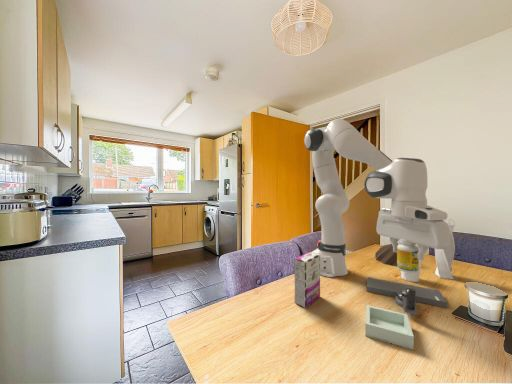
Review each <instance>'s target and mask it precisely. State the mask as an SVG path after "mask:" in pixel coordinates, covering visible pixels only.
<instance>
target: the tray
mask: <svg viewBox="0 0 512 384" xmlns="http://www.w3.org/2000/svg"><path fill="white" fill-rule="evenodd" d="M365 305H366V306H365V308H366V309H365V337H368V338H371V339H374V338H375V340H378V341H382V342H385V343H388V344H391V343H392V345H395V346H399V347H402V348H404V349H405V348H406V349H408V348H409V349H408V350H412V351H413V350H414V347H415V346H414V341H415V339H414V333H413V330H412V326H411V323H410V319H409V316H408V313H407V314H406V313H404V312H403V313H402V312H399V311H398V312H397V311H394V310H390V309H387V308H381V307H377V306H373V305H368V304H365Z"/></svg>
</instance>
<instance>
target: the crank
mask: <svg viewBox="0 0 512 384" xmlns="http://www.w3.org/2000/svg"><path fill="white" fill-rule="evenodd" d="M397 297H398V299H400V300H401V301H402V304H403V307H402V308H403V310H404V312H405V313H407V314H412V315H417V306H416V307H415V298H416V290H414V289H412V288H406V291H399V292H398V293H397Z"/></svg>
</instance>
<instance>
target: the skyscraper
mask: <svg viewBox="0 0 512 384" xmlns="http://www.w3.org/2000/svg"><path fill="white" fill-rule="evenodd" d="M450 221H452V223H450ZM445 222H446V223H447V224H448V226H449V231H450V245H449V246H448V247H447V248H446V249H435V248H434V256H435V257H434V258H435V262H436V268H435V272H432V273H433V274H434V275H435V276H436V277H437V278H439V279H444V280H452V281H459V279H458V278H457V277H455V276H454V275H453V273H452V270H453V267H452V265H453V262H454V258H455V252H456V244H455V243H456V242H455V238H454V233H453V230H454V228H455V227H456V226H455V225H456V224H455V223H456V222H455V221H454V220H453V219H448V220H447V221H445Z"/></svg>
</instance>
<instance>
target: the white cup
mask: <svg viewBox="0 0 512 384" xmlns="http://www.w3.org/2000/svg"><path fill="white" fill-rule="evenodd" d="M421 265H422V260H419V270H418V272H417V273H407V272H403V271H401V270H400V277H401V279H402V280H405V281H407V282H413V283H418V282H420V275H421Z"/></svg>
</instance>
